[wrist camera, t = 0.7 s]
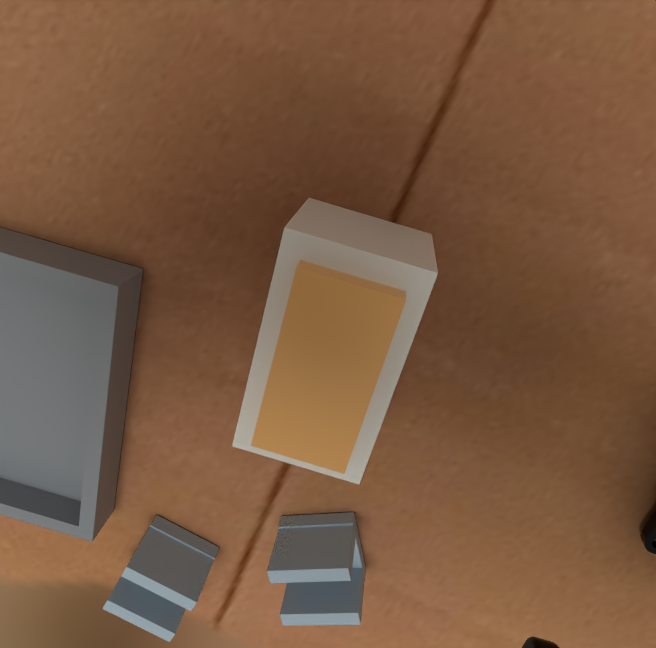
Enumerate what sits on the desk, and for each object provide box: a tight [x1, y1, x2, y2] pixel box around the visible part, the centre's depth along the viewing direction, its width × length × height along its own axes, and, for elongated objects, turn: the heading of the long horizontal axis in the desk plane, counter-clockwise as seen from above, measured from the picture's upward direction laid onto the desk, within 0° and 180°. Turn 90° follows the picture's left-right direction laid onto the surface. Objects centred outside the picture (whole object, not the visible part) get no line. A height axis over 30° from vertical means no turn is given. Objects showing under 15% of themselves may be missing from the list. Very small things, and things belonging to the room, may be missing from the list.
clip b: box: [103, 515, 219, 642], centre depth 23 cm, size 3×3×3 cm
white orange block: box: [232, 198, 438, 484], centre depth 17 cm, size 4×7×5 cm, turn 165°
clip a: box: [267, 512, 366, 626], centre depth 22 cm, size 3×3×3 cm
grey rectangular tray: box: [0, 227, 143, 542], centre depth 21 cm, size 8×11×2 cm
